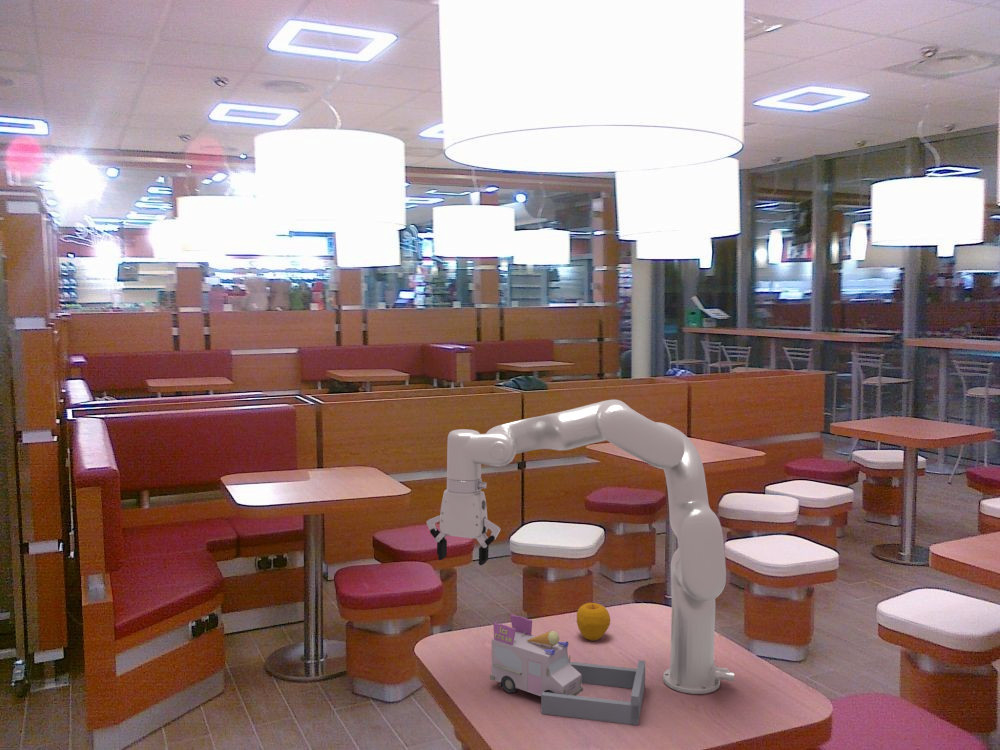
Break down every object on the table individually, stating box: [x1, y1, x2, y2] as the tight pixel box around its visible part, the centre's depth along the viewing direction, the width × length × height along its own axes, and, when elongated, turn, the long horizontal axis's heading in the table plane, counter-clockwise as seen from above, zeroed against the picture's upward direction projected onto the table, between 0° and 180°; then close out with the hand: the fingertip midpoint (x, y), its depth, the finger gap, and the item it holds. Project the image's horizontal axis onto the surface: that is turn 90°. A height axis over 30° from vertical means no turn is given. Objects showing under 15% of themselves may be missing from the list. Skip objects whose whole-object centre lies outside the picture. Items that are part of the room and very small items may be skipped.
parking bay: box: [540, 660, 646, 726], centre depth 188 cm, size 20×18×6 cm
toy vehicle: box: [489, 614, 584, 697], centre depth 190 cm, size 9×20×15 cm, turn 53°
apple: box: [576, 602, 611, 642], centre depth 222 cm, size 9×8×9 cm
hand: (462, 560), depth 195 cm, fingers open, 9 cm apart
